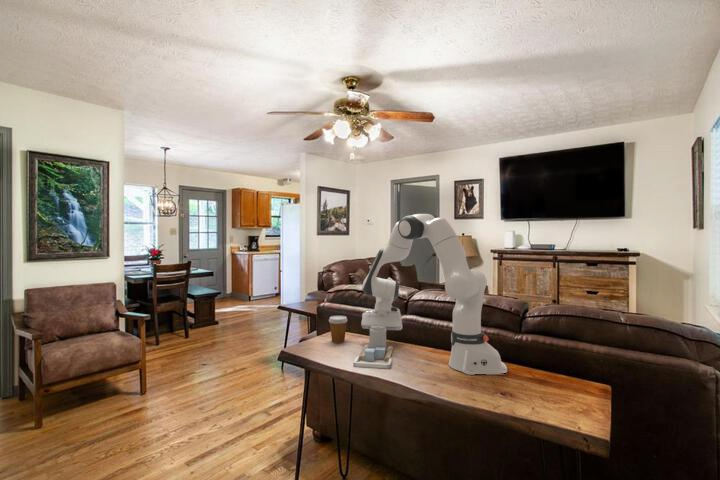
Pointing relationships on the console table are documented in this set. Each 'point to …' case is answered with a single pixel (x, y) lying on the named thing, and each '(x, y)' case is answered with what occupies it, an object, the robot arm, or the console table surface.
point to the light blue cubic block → (369, 354)
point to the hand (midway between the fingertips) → (380, 336)
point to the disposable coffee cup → (338, 328)
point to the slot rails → (387, 356)
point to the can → (377, 336)
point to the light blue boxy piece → (380, 353)
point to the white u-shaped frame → (372, 364)
